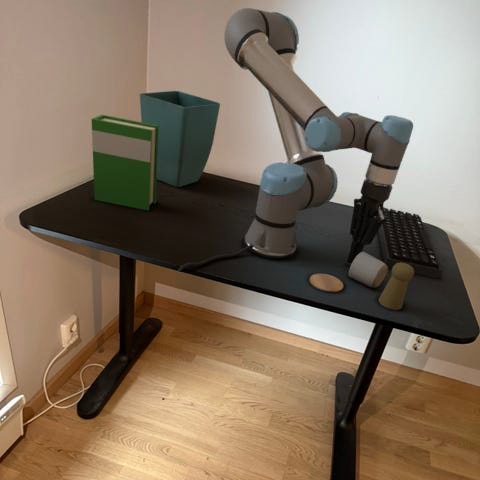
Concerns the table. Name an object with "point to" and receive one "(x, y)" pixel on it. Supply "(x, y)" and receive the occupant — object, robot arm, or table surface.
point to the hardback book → (125, 161)
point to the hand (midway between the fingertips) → (351, 262)
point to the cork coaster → (326, 282)
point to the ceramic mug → (368, 270)
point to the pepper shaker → (396, 286)
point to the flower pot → (180, 133)
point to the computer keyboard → (407, 243)
